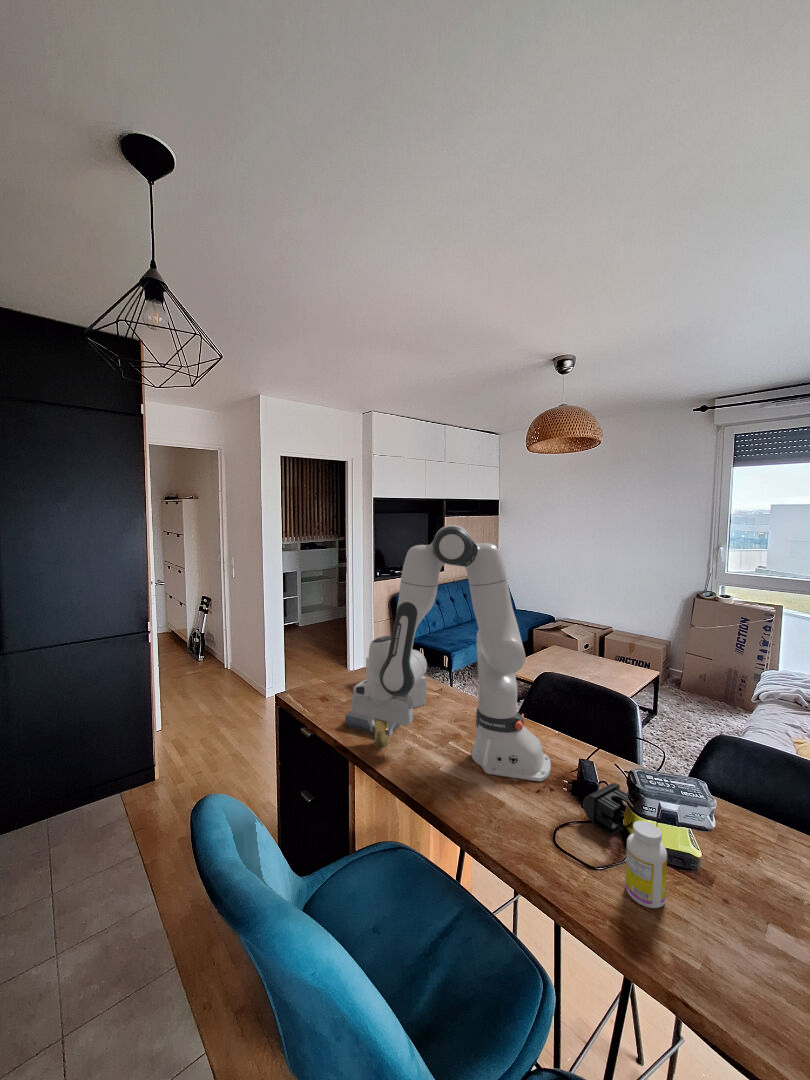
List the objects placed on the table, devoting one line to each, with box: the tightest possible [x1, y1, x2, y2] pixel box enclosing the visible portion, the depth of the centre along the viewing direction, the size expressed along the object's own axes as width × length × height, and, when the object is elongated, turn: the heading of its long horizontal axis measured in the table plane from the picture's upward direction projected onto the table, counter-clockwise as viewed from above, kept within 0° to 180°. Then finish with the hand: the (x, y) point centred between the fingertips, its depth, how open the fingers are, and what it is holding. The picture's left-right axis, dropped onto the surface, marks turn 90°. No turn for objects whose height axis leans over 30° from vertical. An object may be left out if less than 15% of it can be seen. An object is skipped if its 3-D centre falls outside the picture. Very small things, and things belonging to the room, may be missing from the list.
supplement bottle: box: [625, 820, 668, 909], centre depth 82 cm, size 7×7×13 cm
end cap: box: [582, 782, 629, 836], centre depth 103 cm, size 10×7×7 cm
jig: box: [344, 710, 401, 738], centre depth 149 cm, size 16×13×4 cm
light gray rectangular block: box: [365, 656, 427, 709], centre depth 176 cm, size 32×11×11 cm, turn 29°
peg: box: [374, 719, 389, 748], centre depth 135 cm, size 4×4×8 cm
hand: (381, 732), depth 136 cm, fingers closed on peg, 4 cm apart
